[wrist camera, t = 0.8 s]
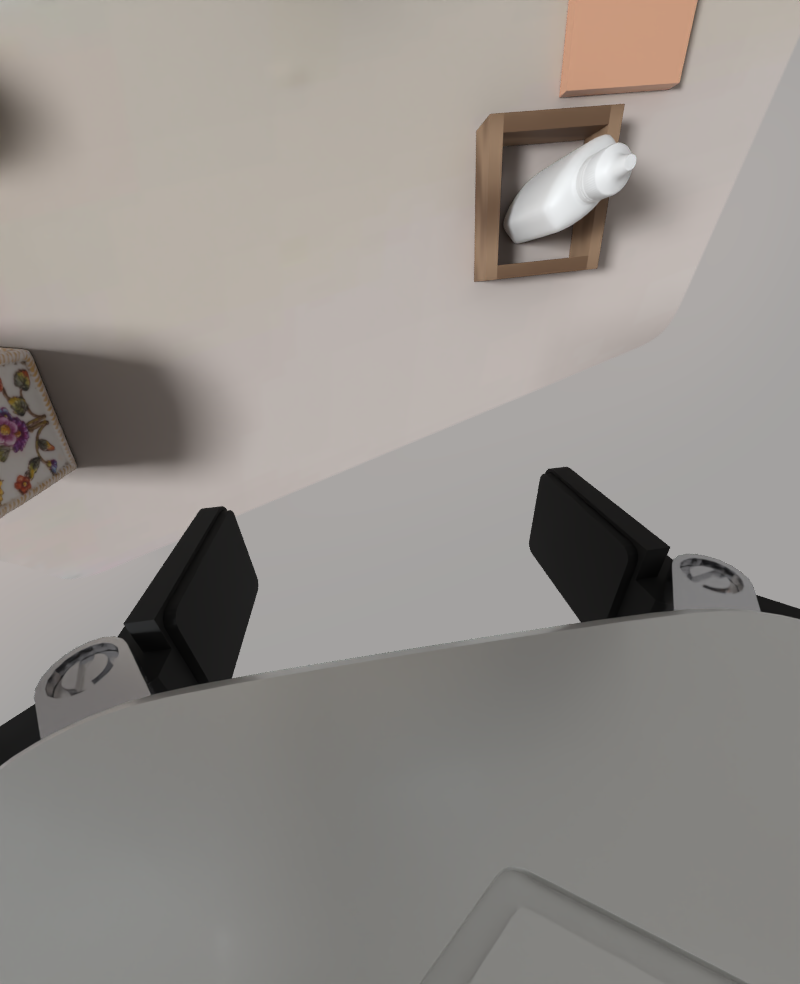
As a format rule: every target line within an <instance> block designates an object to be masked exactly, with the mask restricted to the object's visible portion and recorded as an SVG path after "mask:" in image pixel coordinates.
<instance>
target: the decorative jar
mask: <svg viewBox="0 0 800 984" xmlns="http://www.w3.org/2000/svg"><path fill="white" fill-rule="evenodd" d="M76 467H77V465H76V462H75V459H74V457H73V455H72V453H71V450H70V448H69V445H68V443H67V440H66V438H65V435H64V433H63V431H62V428H61V426H60V424H59V421H58V418H57V416H56V413H55V411H54V409H53V406H52V403H51V401H50V399H49V396H48V394H47V391H46V389H45V386H44V384H43V382H42V379H41V377H40V374H39V372H38V369H37V367H36V364H35V362H34V359H33V357H32V355H31V353H30V352H29V351H28V350H23V349H13V348H2V347H1V348H0V518H2V517H3V516H4V515H6V514H7V513H9V512H10V511H12V510H14V509H16V508H17V507H19V506H20V505H22V504H24V503H25V502H27V501H28V500H30V499H31V498H33V497H34V496H36V495H38V494H39V493H41V492H42V491H44V490H45V489H47V488H48V487H50V486H51V485H53V484H54V483H56V482H57V481H58V480H60V479H61V478H63V477H64V476H66V475H67V474H69V473H70V472H71V471H73V470H75V469H76Z"/></svg>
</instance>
